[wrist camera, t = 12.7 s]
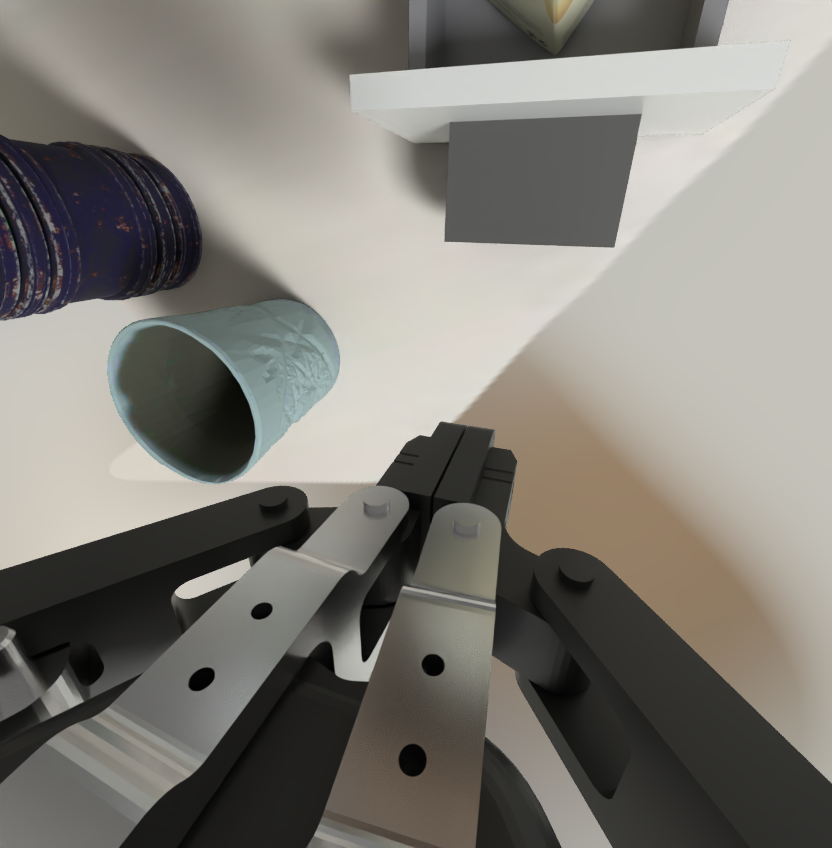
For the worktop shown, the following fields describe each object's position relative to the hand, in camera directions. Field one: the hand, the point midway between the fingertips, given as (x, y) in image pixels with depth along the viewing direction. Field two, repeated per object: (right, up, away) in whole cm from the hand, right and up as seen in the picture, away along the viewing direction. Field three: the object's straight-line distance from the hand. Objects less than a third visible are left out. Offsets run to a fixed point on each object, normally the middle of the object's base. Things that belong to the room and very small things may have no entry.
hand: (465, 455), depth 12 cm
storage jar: (-22, +17, +22) cm, 35 cm away
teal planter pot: (-11, +7, +22) cm, 26 cm away
